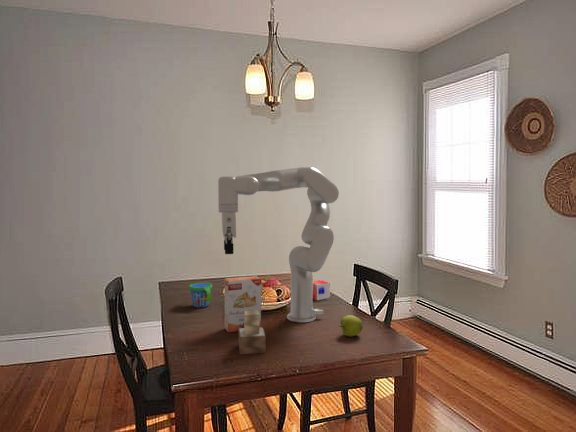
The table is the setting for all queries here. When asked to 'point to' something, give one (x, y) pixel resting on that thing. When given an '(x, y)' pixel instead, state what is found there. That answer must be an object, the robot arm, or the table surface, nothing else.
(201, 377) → the table surface
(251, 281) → the cracker box
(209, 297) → the snack cup
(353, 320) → the apple
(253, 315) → the beech block
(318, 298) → the red and white cube
